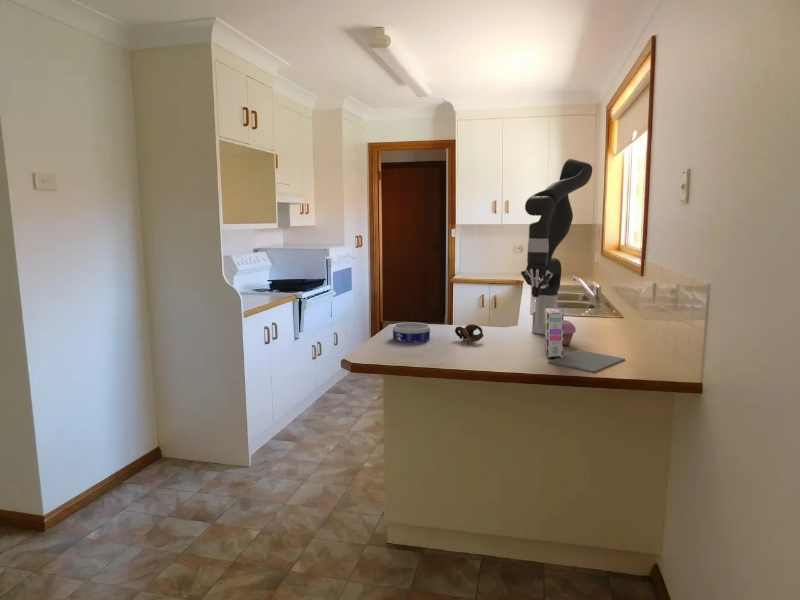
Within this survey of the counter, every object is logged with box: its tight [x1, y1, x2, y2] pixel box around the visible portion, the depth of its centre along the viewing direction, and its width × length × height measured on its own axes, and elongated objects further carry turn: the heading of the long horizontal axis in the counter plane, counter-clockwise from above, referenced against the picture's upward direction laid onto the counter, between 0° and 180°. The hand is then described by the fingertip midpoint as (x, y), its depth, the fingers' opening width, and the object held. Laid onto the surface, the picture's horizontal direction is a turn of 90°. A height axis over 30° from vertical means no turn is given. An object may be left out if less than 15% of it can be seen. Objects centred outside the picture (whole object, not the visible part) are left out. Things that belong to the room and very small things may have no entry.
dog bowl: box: [392, 321, 431, 344], centre depth 227 cm, size 15×15×6 cm
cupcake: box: [563, 319, 577, 346], centre depth 220 cm, size 9×9×10 cm
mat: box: [547, 349, 626, 374], centre depth 195 cm, size 17×24×1 cm
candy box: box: [544, 307, 564, 359], centre depth 203 cm, size 14×6×16 cm, turn 168°
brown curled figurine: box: [454, 323, 485, 345], centre depth 224 cm, size 12×10×8 cm
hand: (536, 296), depth 207 cm, fingers closed
